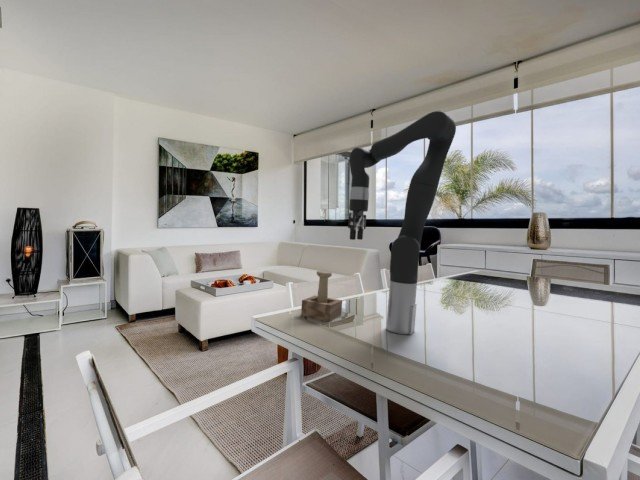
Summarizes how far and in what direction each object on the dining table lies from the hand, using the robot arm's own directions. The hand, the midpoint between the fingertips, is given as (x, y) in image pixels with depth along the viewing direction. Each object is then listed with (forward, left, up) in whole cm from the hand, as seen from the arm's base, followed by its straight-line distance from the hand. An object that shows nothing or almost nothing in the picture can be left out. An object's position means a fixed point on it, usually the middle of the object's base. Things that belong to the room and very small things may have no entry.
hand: (356, 239), depth 134 cm
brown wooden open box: (+8, +11, -30) cm, 33 cm away
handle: (+8, +11, -28) cm, 31 cm away
